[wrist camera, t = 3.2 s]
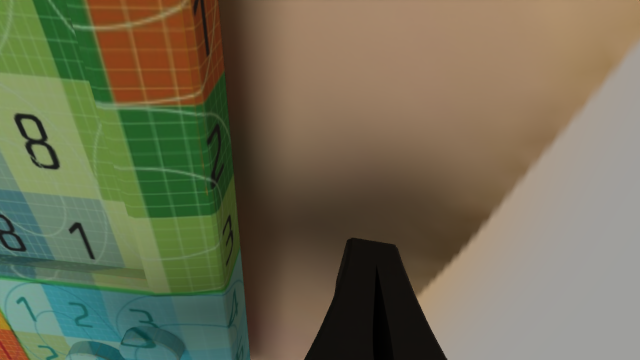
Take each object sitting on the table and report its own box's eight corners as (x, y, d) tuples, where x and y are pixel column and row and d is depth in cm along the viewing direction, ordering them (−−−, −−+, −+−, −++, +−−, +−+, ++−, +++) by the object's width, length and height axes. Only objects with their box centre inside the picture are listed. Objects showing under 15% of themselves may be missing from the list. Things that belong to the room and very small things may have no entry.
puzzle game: (-59, 432, 16) (-1256, -502, 4) (19, 323, 20) (-437, -329, 7) (242, 469, 16) (94, -426, 3) (265, 351, 19) (239, -283, 7)
